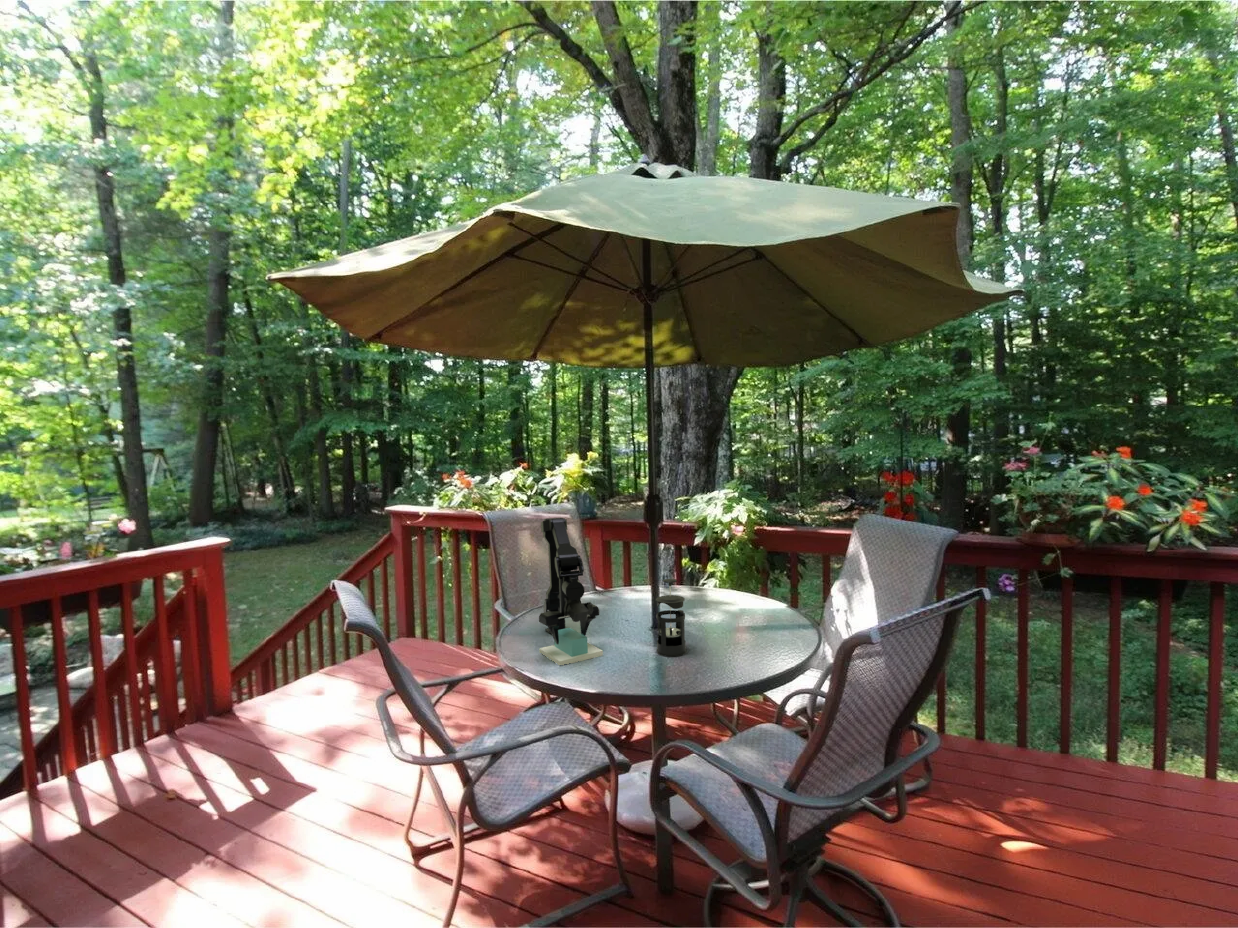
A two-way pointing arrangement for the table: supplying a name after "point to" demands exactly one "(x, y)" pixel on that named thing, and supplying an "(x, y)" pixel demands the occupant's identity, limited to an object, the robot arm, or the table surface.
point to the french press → (671, 638)
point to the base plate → (564, 658)
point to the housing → (572, 642)
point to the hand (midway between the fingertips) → (570, 641)
